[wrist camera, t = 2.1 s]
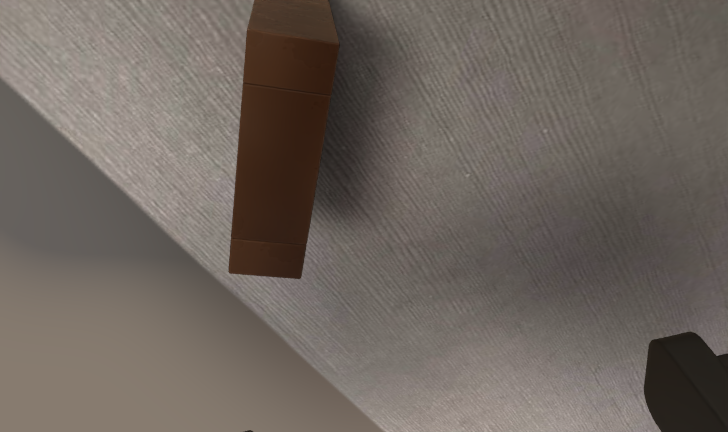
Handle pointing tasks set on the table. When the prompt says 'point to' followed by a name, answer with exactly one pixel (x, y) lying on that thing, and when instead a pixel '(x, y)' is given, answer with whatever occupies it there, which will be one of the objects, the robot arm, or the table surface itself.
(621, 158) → the table surface
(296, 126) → the brown wooden box
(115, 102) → the table surface
